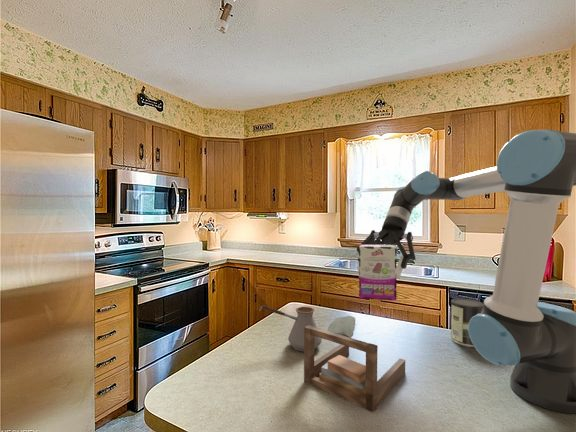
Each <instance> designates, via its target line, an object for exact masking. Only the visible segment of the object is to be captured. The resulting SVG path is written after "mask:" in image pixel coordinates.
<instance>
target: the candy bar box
mask: <svg viewBox="0 0 576 432" xmlns="http://www.w3.org/2000/svg"><path fill="white" fill-rule="evenodd" d="M358 247H359V253H358V256H359V257H358V258H359V262H358V263H359V272H358V281H359V282H358V288H359V289H358V297H359V299H363V300H364V299H366V300H382V301H397V286H398V285H397V277H396V275H395V271H396V268H397V265H398V261H397V259H398V258H397V254H398V253H397V249H398V247H397V245H396V244H394V245H390V244H387V245H386V244H384V245H364V244H359V245H358Z"/></svg>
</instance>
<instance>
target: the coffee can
mask: <svg viewBox="0 0 576 432" xmlns="http://www.w3.org/2000/svg"><path fill="white" fill-rule="evenodd" d="M450 303H451V311H450V313H451V314H450V315H451V320H450V321H451V322H450V327H451V328H450V339H451V341H452V342H453V343H456V344H458V345H460V346H464V347H469V348H475V347H474V344H473V343H472V342H471V339H470V336H469V332H468V325H469V321H470V319H471V318H472V317H473V316H475V315H477V314H482V309H483V304H484V302H481V301H479V300H474V299H470V298H469V299H468V298H453V299H451V300H450Z"/></svg>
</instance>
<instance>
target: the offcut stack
mask: <svg viewBox="0 0 576 432" xmlns="http://www.w3.org/2000/svg"><path fill="white" fill-rule="evenodd" d="M318 378H320V379H323V380H325V381H327V382H330V383H332V384H335V385H337V386H339V387H342V388H344V389H347V390H349V391H351V392H354V393H356V394H359V395H361V396H363V397H365V385H366V364H365V365H364V364H362V363H360V362H357V361H355V360H353V359H350V358H348V357H343V356H341V355H338V356H336V357H334V358H332V359H331V360H329V361H328V362H327V363H326V364H325V365H323V366H322V367H321V373H320V374H319V377H318Z"/></svg>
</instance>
